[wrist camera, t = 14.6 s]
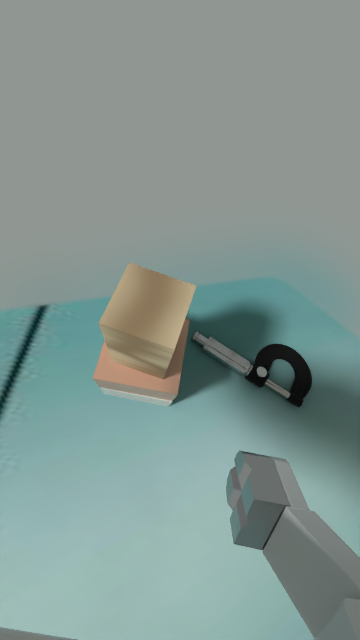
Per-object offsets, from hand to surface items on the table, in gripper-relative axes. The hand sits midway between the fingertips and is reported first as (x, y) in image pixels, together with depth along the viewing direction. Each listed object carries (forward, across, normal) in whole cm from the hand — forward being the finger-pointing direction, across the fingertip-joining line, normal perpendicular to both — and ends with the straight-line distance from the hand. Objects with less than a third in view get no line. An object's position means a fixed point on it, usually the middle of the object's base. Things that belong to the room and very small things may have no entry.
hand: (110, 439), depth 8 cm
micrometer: (+23, -12, +6) cm, 27 cm away
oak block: (+14, 0, +4) cm, 15 cm away
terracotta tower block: (+17, 0, +6) cm, 18 cm away
